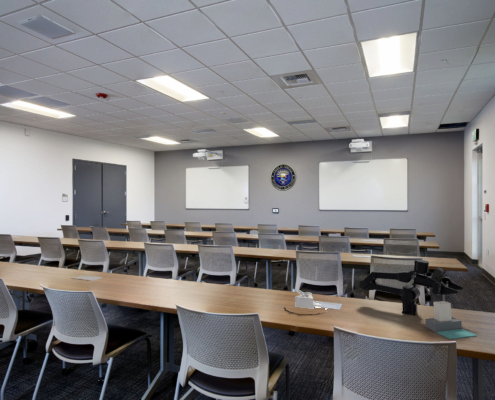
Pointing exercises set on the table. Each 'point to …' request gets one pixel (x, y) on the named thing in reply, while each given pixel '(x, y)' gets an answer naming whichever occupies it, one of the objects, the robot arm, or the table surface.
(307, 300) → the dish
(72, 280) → the table surface
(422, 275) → the robot arm
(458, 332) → the mat
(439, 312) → the card box
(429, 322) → the plinth
